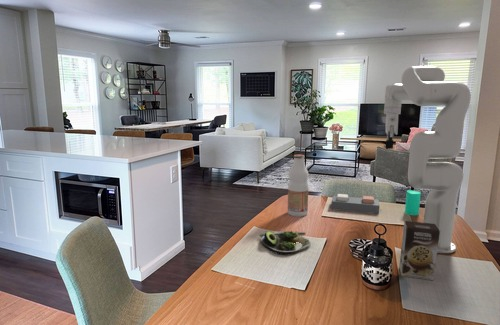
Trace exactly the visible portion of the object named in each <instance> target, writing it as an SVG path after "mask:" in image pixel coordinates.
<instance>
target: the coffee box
mask: <svg viewBox="0 0 500 325" xmlns="http://www.w3.org/2000/svg"><path fill="white" fill-rule="evenodd" d="M439 235H440V230H439V229H438V227H437V226H436V225H435V224H431V223H423V221H422V222H421V221H411V220H410V221H409V220H404V223H403V231H402V239H401V249H400V255H399V256H400V258H399V266H398V267H399V271H400V275H401V276H402V277H409V278H413V277H414V279H415V278H416V279H420V278H421V279H422V280H428V281H434V280H435V272H436V266H437V265H436V264H437V256H438V253H437V250H438V242H439Z"/></svg>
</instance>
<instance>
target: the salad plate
mask: <svg viewBox="0 0 500 325" xmlns="http://www.w3.org/2000/svg"><path fill="white" fill-rule="evenodd" d="M304 235H306V232H304V231H303V232H297V231H295V232H294V231H292V230H291V231H287V230H282V231H281V230H280V231H278V232H272V231H270V230H268V231H266V232H265V233H263V234H262V233H261V234H259V235H258V236H259V237H260V243H261V245H262V246H263V247H264V248H265V249H267V250H268V251H270V252H271V251H272V252H271V253H273V252H274V254H276V253H277V255H281V254H282V255H281V256H284V255H285V256H288V254H289V255H293V254H296V253H299V252H301V251H303V250H305V249H307V248H309V247H310V246H311V244H312V242H311V241H310V240H309V239H308V238H305V237H303V236H304ZM296 242H299V243H298V244H300V243H301V247H300V248H298V249H297V246H296V245H297V243H296ZM294 243H295V244H294Z"/></svg>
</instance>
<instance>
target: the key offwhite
mask: <svg viewBox="0 0 500 325" xmlns="http://www.w3.org/2000/svg"><path fill="white" fill-rule="evenodd" d="M336 196H337V200H339V201H348V197H349V194H345V193H337V195H336Z"/></svg>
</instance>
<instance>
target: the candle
mask: <svg viewBox="0 0 500 325" xmlns="http://www.w3.org/2000/svg"><path fill="white" fill-rule="evenodd" d="M421 194H422V193H421V192H420V191H418V190H411V189H408V190H406V194H405V195H406V196H405V206H404V214H406V213H407V214H406V215H409V216H419V213H420V207H421V206H420V205H421Z"/></svg>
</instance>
